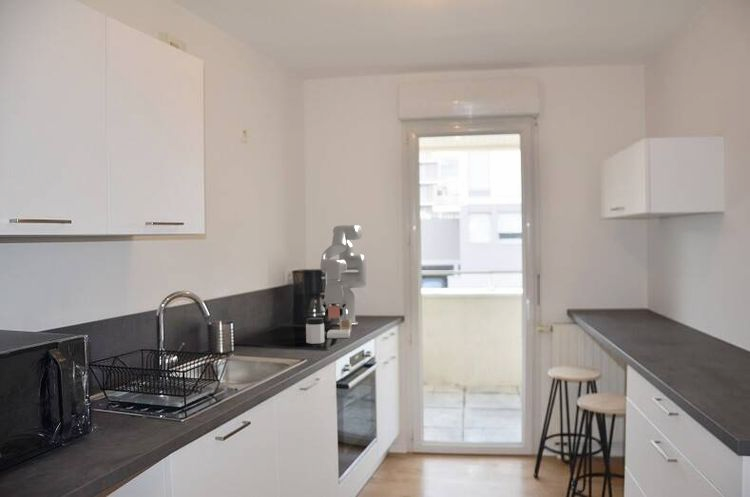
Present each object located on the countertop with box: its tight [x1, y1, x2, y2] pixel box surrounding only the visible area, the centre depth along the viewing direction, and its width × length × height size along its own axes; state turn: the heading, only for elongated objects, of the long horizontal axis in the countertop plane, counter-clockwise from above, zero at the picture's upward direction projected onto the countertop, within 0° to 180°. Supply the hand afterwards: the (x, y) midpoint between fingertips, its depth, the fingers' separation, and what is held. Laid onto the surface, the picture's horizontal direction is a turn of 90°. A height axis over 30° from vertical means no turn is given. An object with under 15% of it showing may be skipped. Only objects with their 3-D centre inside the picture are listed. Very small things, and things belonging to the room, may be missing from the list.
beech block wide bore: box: [339, 319, 352, 333], centre depth 333 cm, size 6×6×6 cm
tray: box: [326, 329, 351, 339], centre depth 315 cm, size 11×11×3 cm
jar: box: [305, 317, 325, 345], centre depth 297 cm, size 9×8×12 cm
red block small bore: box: [327, 305, 340, 319], centre depth 321 cm, size 6×6×6 cm
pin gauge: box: [343, 310, 348, 321], centre depth 333 cm, size 3×3×12 cm
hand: (334, 316), depth 321 cm, fingers closed on red block small bore, 6 cm apart
